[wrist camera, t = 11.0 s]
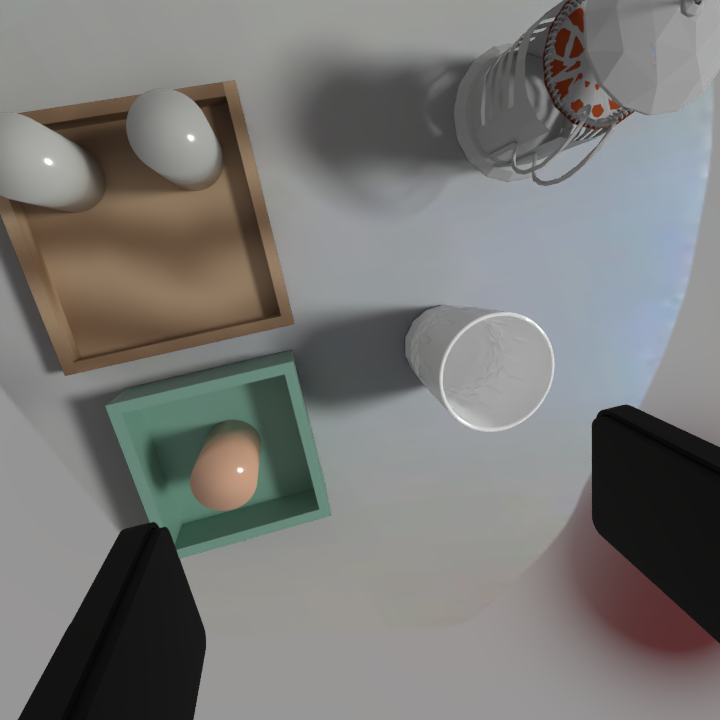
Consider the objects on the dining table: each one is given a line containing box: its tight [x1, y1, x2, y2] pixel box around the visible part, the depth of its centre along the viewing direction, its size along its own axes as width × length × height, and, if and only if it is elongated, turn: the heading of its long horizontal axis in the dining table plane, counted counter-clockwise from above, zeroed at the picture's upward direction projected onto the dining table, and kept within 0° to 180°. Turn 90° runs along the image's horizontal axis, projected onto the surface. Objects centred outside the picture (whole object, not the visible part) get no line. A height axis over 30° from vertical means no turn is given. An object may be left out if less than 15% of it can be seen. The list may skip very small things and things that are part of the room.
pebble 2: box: [126, 88, 224, 191], centre depth 27 cm, size 4×4×6 cm
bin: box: [105, 350, 331, 559], centre depth 33 cm, size 13×13×4 cm
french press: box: [453, 0, 720, 186], centre depth 22 cm, size 10×12×25 cm
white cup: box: [405, 305, 554, 432], centre depth 32 cm, size 8×8×10 cm
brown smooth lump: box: [190, 420, 261, 511], centre depth 32 cm, size 4×4×6 cm
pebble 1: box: [0, 112, 106, 213], centre depth 26 cm, size 4×4×6 cm
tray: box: [0, 80, 294, 376], centre depth 30 cm, size 16×16×2 cm
